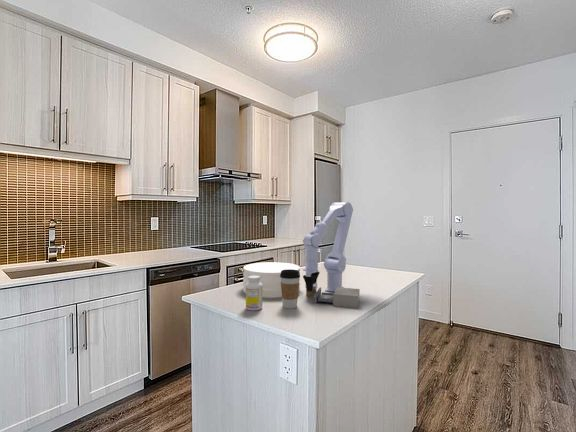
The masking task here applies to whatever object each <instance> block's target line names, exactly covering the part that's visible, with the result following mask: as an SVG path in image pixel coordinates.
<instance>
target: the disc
mask: <svg viewBox="0 0 576 432" xmlns="http://www.w3.org/2000/svg"><path fill="white" fill-rule="evenodd" d="M313 289H316V290H317V289H318V283H317V282H316V283H315V282H314V283H313Z"/></svg>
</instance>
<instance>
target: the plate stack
mask: <svg viewBox="0 0 576 432" xmlns="http://www.w3.org/2000/svg"><path fill="white" fill-rule="evenodd" d="M287 269H292V270H298V271H299V274H300V275H301V272H300V271H301V266H300V265H298V264H294V263H290V262H279V261H277V262H275V261H273V262H272V261H267V262H263V261H262V262H255V263H249V264H245V265H244V266H243V269H242V270H243V272H242V274H243V278H242V281H243V284H242V286H243V288H242V289H243V290H242V292H243V293H245V294H246V284H247V283H248V282H249V280H248V277H249V276H260V280H259V282H260V283H262V298H269V299H270V298H273V299H274V298H282V292H281V277H280V274H281V271H282V270H287ZM300 280H301V276H300V277H299V290H298V293H299V292H300V291H301V289H300V285H301V283H300Z"/></svg>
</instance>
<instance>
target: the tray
mask: <svg viewBox="0 0 576 432" xmlns="http://www.w3.org/2000/svg"><path fill="white" fill-rule="evenodd" d="M317 289H318V290H316V293H315V295H314V297H313V298H314V304H317V303H318V302H322V303H323V302H324V303H332V304H333V294H334V293H333V292H322V287H319V288H317Z"/></svg>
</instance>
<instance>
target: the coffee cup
mask: <svg viewBox="0 0 576 432" xmlns="http://www.w3.org/2000/svg"><path fill="white" fill-rule="evenodd" d="M299 272H300V271H298V270H292V269H287V270H282V271H281V274H280V277H281V292H282V297H281V298H282V299H281V301H282V307H283V308H285V309H295V308H297V307H298V297H299V292H298V290H299V287H300V286H299V282H300V281H299V277H300V278H301V273H300V274H299Z"/></svg>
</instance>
